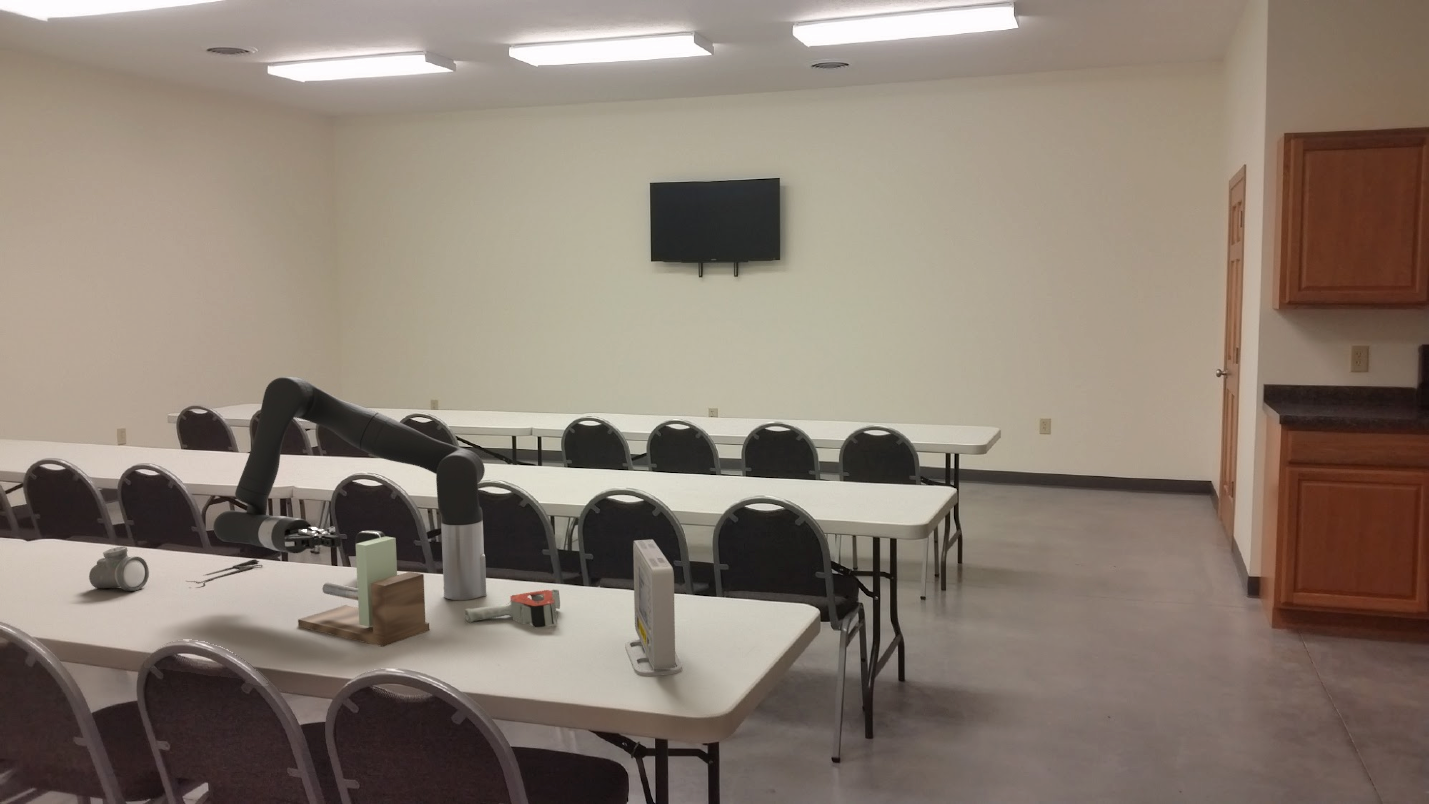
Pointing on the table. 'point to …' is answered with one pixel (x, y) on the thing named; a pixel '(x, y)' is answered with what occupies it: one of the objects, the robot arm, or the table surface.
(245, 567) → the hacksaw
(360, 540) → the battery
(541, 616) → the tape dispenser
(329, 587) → the pipe
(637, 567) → the network device
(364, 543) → the pale green tall slab
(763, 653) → the table surface
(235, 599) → the table surface
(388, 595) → the base board
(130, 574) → the pipe fitting
